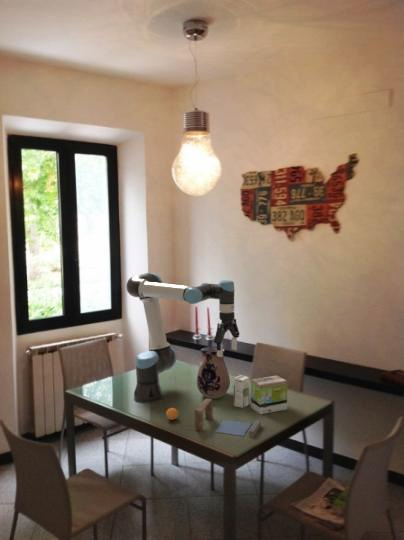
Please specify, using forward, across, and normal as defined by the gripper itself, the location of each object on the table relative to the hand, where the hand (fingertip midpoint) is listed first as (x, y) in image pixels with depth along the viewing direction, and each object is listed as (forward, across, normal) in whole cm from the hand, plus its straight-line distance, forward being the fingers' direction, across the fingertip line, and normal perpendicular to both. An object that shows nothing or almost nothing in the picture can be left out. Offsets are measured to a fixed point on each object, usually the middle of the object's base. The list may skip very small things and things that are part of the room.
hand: (227, 353), depth 246 cm
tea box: (+25, +3, -22) cm, 34 cm away
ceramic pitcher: (+26, +5, +11) cm, 29 cm away
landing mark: (+25, -25, -19) cm, 40 cm away
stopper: (+25, -22, -29) cm, 44 cm away
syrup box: (+26, -1, -9) cm, 27 cm away
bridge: (+25, -28, -5) cm, 38 cm away
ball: (+23, -32, +10) cm, 41 cm away
